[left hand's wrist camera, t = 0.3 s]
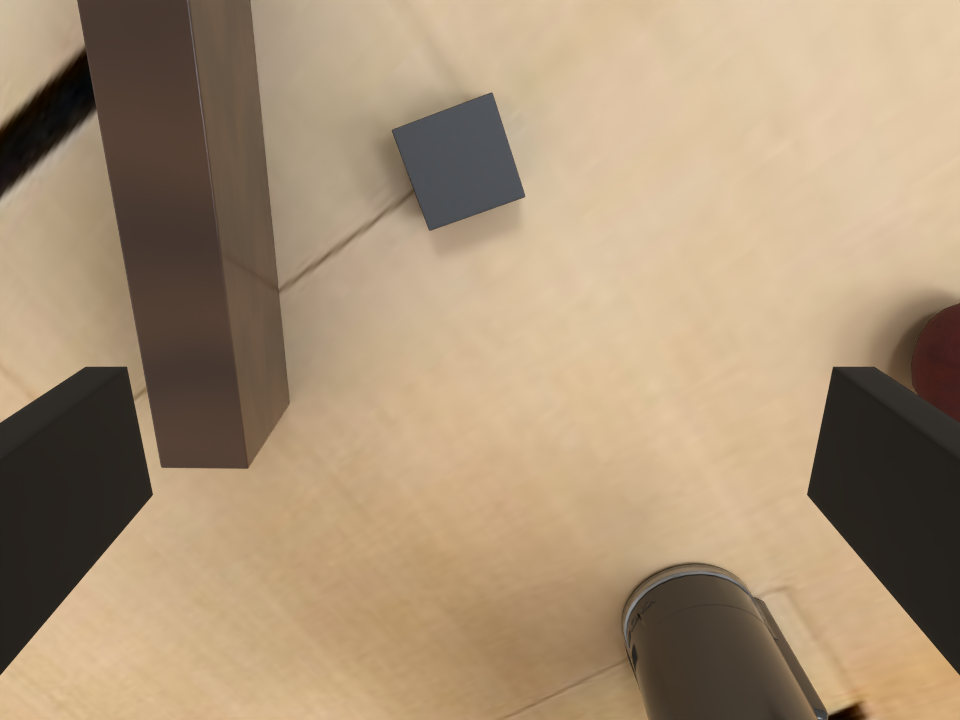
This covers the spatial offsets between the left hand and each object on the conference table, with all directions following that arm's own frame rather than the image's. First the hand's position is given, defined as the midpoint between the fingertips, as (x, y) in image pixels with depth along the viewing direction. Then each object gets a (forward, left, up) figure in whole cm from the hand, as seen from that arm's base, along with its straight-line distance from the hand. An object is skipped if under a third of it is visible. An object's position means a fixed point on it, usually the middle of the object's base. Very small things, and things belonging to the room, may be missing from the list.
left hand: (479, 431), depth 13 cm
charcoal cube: (-3, -1, -27) cm, 27 cm away
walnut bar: (0, -14, -27) cm, 30 cm away
